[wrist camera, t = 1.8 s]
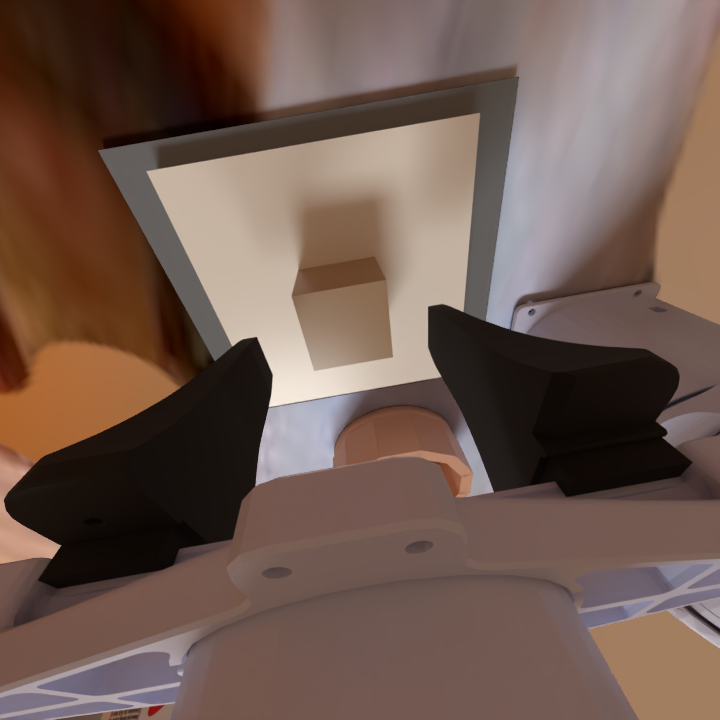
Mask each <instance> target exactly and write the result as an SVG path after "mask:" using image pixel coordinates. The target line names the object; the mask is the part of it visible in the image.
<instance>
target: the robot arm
mask: <svg viewBox="0 0 720 720" xmlns="http://www.w3.org/2000/svg"><path fill="white" fill-rule="evenodd" d="M659 290H660V284H658V283H655V282H648V283H642V284H636V285H631V286H625V287H619V288H613V289H608V290H602V291H596V292H590V293H585V294H579V295H573V296H568V297H562V298H556V299H550V300H545V301H539V302H533V303H528V304H523V305H520V306H518V307H517V308H516V310H515V312H514V316H513V321H512V326H511V330H509V329H506V328H503V327H500V326H497V325H494V324H492V323H489V322H486V321H484V320H481V319H479V318H476V317H474V316H471V315H469V314H467V313H465V312H462V311H460V310H458V309H455V308H453V307H450V306H448V305H445V304H439V305H433V306H428V349H429V352H430V354H431V357H432V359H433V362H434V364H435V366H436V368H437V370H438V372H439V373H440V375H441V377H442V378H443V380H444V382H445V384H446V385H447V387H448V389H449V390H450V392H451V394H452V395H453V397H454V399H455V400H456V402H457V404H458V406H459V408H460V410H461V412H462V414H463V416H464V418H465V420H466V423H467V425H468V427H469V429H470V432H471V434H472V437H473V439H474V441H475V444H476V446H477V449H478V451H479V453H480V456H481V459H482V461H483V464H484V466H485V469H486V472H487V474H488V477H489V479H490V482H491V485H492V488H493V491H494V492H493V493H488V494H482V495H477V496H471V497H453V495H452V493H451V490H450V488H449V485H448V482H447V480H446V477H445V475H444V473H443V471H442V468H441V466H440V465H438V464H436V463H433V462H431V461H428V460H426V459H424V458H421V457H418V456H403V457H389V458H384V459H378V460H373V461H367V462H361V463H356V464H350V465H345V466H339V467H333V468H328V469H322V470H317V471H311V472H306V473H300V474H294V475H289V476H283V477H279V478H276V479H273V480H271V481H268V482H265V483H262V484H259V485H258V486H256V487H255V484H256V472H257V463H258V455H259V447H260V442H261V437H262V433H263V429H264V425H265V420H266V416H267V412H268V408H269V403H270V399H271V394H272V381H273V374H272V372H271V369H270V367H269V365H268V362H267V360H266V357H265V355H264V353H263V350H262V348H261V345H260V343H259V341H258V338H257V337H253V338H247V339H242V340H241V341H239V342H238V343H236V344H235V345H234V346H232V347H231V348H230V349H229V350H228V351H226V352H225V353H224V354H223V355H222V356H221V357H219V358H218V359H217V360H216V361H215V362H213V363H212V364H211V365H210V366H209V367H207V368H206V369H205V370H204V371H202V372H201V373H200V374H199V375H197V376H196V377H195V378H193V379H192V380H191V381H190V382H188V383H187V384H185V385H184V386H183V387H181V388H180V389H178V390H177V391H175V392H174V393H173V394H171V395H169V396H168V397H166V398H165V399H163V400H161V401H160V402H158V403H156V404H154V405H153V406H151V407H149V408H147V409H146V410H144V411H142V412H140V413H139V414H137V415H135V416H133V417H131V418H129V419H127V420H125V421H123V422H121V423H120V424H117V425H115V426H113V427H111V428H109V429H107V430H105V431H103V432H101V433H98V434H97V435H94V436H92V437H90V438H87V439H85V440H82V441H80V442H77V443H75V444H73V445H70V446H68V447H65V448H63V449H61V450H58V451H56V452H53V453H51V454H48V455H46V456H44V457H43V458H41V459H40V460H39V461H38V462H37V463H36V464H35V465H34V466H33V467H32V468H31V469H30V470H29V471H28V472H27V473H26V474H25V475H24V476H23V478H22V479H21V480H20V481H19V482H18V483H17V484H16V485H15V486H14V487H13V488H12V489H11V490H10V491H9V492H8V494H7V495H6V497H5V499H4V503H5V508H6V511H7V512H8V513H9V515H10V516H11V517H12V518H13V519H14V520H16V521H17V522H19V523H20V524H22V525H24V526H25V527H27V528H29V529H31V530H33V531H35V532H37V533H38V534H40V535H42V536H44V537H46V538H48V539H50V540H52V541H53V542H55V543H57V544H59V545H61V547H60V548H59V550H58V551H57V553H56V554H55V556H54V557H53V559H49V558H32V559H26V560H21V561H15V562H10V563H4V564H0V720H53V719H60V718H67V717H73V716H80V715H88V714H95V713H102V712H111V711H119V710H126V709H134V708H142V707H150V706H158V705H166V704H174V703H175V705H174V708H173V712H172V715H171V719H170V720H639V719H638V718H637V716H636V714H635V712H634V711H633V709H632V707H631V705H630V703H629V702H628V700H627V698H626V696H625V695H624V693H623V691H622V689H621V687H620V686H619V684H618V682H617V680H616V679H615V677H614V675H613V673H612V672H611V670H610V668H609V666H608V664H607V663H606V661H605V659H604V657H603V655H602V654H601V652H600V650H599V649H598V646H597V645H596V643H595V641H594V639H593V638H592V636H591V634H590V632H589V631H588V629H591V628H596V627H600V626H604V625H608V624H612V623H617V622H621V621H625V620H629V619H633V618H637V617H642V616H646V615H650V614H654V613H658V612H662V611H666V610H667V611H669V612H670V613H671V614H672V615H673V616H675V617H676V618H677V619H678V620H680V621H681V622H683V623H684V624H685V625H687V626H688V627H690V628H691V629H692V630H694V631H695V632H697V633H698V634H700V635H701V636H702V637H704V638H705V639H707V640H708V641H710V642H711V643H712V644H714V645H716V646H717V647H718V648H720V325H719V324H716V323H714V322H711V321H709V320H706V319H704V318H701V317H699V316H697V315H695V314H692V313H690V312H687V311H685V310H682V309H680V308H678V307H675V306H673V305H670V304H668V303H666V302H663V301H661V300H658V299H656V296H657V294H658V292H659ZM531 309H532V311H531V312H529V311H530V310H531ZM528 312H529V313H528Z"/></svg>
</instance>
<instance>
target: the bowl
mask: <svg viewBox="0 0 720 720" xmlns="http://www.w3.org/2000/svg"><path fill="white" fill-rule="evenodd" d="M403 456H418V457H421V458H424V459H426V460H428V461H431V462H433V463H436V464H438V465H440V466H441V468H442V471H443V473H444V475H445V477H446V480H447V482H448V485H449V488H450V490H451V493H452V495H453V497H466V496H467V495H468V494H469V493H470V489H471V483H472V477H473V472H472V470H471V467H470V465H469V463H468V461H467V459H466V457H465V455H464V453H463V451H462V448H461V446H460V444H459V442H458V440H457V438H456V436H455V435H454V434H453V433H452V431H451V429H450V427H449V425H448V423H447V422H446V421H445V419H444V418H442V417H441V416H440V415H439V414H437V413H435V412H433V411H431V410H429V409H425V408H422V407H416V406H392V407H386V408H382V409H378V410H375V411H372V412H370V413H367V414H365V415H363V416H361V417H359V418H358V419H356V420H355V421H353V422H352V423H350V424H349V425H348V426H347V427H346V428H345V429H344V430H343V431H342V432H341V434H340V435H339V437H338V439H337V441H336V444H335V448H334V457H333V467H339V466H345V465H350V464H356V463H361V462H367V461H373V460H378V459H384V458H389V457H403Z"/></svg>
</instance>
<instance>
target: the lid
mask: <svg viewBox="0 0 720 720" xmlns="http://www.w3.org/2000/svg"><path fill="white" fill-rule="evenodd" d="M479 121H480V113H476V114H471V115H465V116H459V117H454V118H448V119H442V120H436V121H431V122H425V123H419V124H414V125H408V126H402V127H396V128H391V129H385V130H379V131H374V132H368V133H362V134H356V135H351V136H345V137H339V138H334V139H328V140H322V141H316V142H311V143H305V144H299V145H294V146H288V147H282V148H277V149H271V150H265V151H259V152H254V153H248V154H242V155H237V156H231V157H225V158H219V159H214V160H208V161H202V162H197V163H191V164H185V165H179V166H174V167H168V168H162V169H157V170H151V171H147V173H148V176H149V178H150V180H151V182H152V184H153V186H154V188H155V190H156V192H157V194H158V196H159V198H160V200H161V202H162V204H163V206H164V208H165V210H166V212H167V214H168V216H169V218H170V220H171V222H172V224H173V227H174V229H175V231H176V233H177V235H178V237H179V239H180V241H181V243H182V245H183V247H184V249H185V251H186V253H187V255H188V257H189V259H190V261H191V263H192V265H193V267H194V269H195V271H196V273H197V275H198V278H199V280H200V282H201V284H202V286H203V288H204V290H205V292H206V294H207V296H208V298H209V300H210V302H211V304H212V306H213V308H214V310H215V312H216V314H217V316H218V318H219V320H220V322H221V324H222V326H223V328H224V331H225V333H226V335H227V337H228V339H229V341H230V343H231V345H232V346H234V345H235V344H236V343H238V342H239V341H241V340H242V339H247V338H253V337H257V338H258V341H259V343H260V345H261V348H262V350H263V353H264V355H265V357H266V360H267V362H268V365H269V367H270V369H271V372H272V374H273V381H272V394H271V399H270V403H269V407H272V406H278V405H284V404H289V403H295V402H301V401H307V400H312V399H318V398H324V397H330V396H335V395H341V394H347V393H352V392H358V391H364V390H370V389H375V388H381V387H387V386H392V385H398V384H404V383H410V382H415V381H421V380H427V379H433V378H438V377H441V375H440V373H439V372H438V370H437V368H436V366H435V364H434V362H433V359H432V357H431V354H430V352H429V349H428V306H433V305H439V304H445V305H448V306H450V307H453V308H455V309H458V310H460V311H462V312H464V300H465V288H466V276H467V264H468V252H469V240H470V228H471V216H472V204H473V192H474V181H475V169H476V157H477V145H478V133H479Z"/></svg>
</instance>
